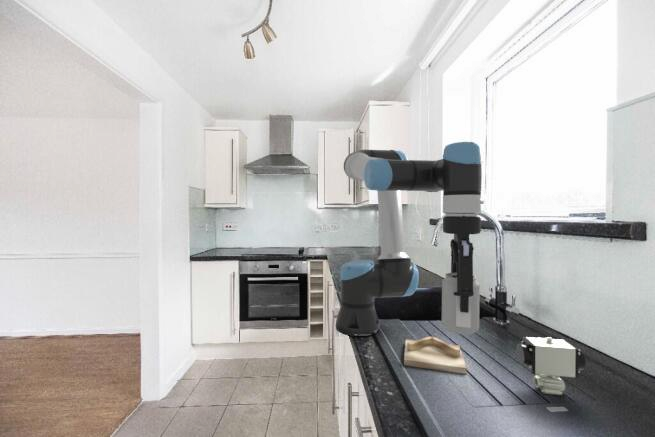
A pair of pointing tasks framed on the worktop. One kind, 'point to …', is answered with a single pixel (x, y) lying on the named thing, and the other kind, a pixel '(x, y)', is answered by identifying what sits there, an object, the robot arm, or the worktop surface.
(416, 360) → the v block
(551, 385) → the pneumatic valve
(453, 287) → the can
